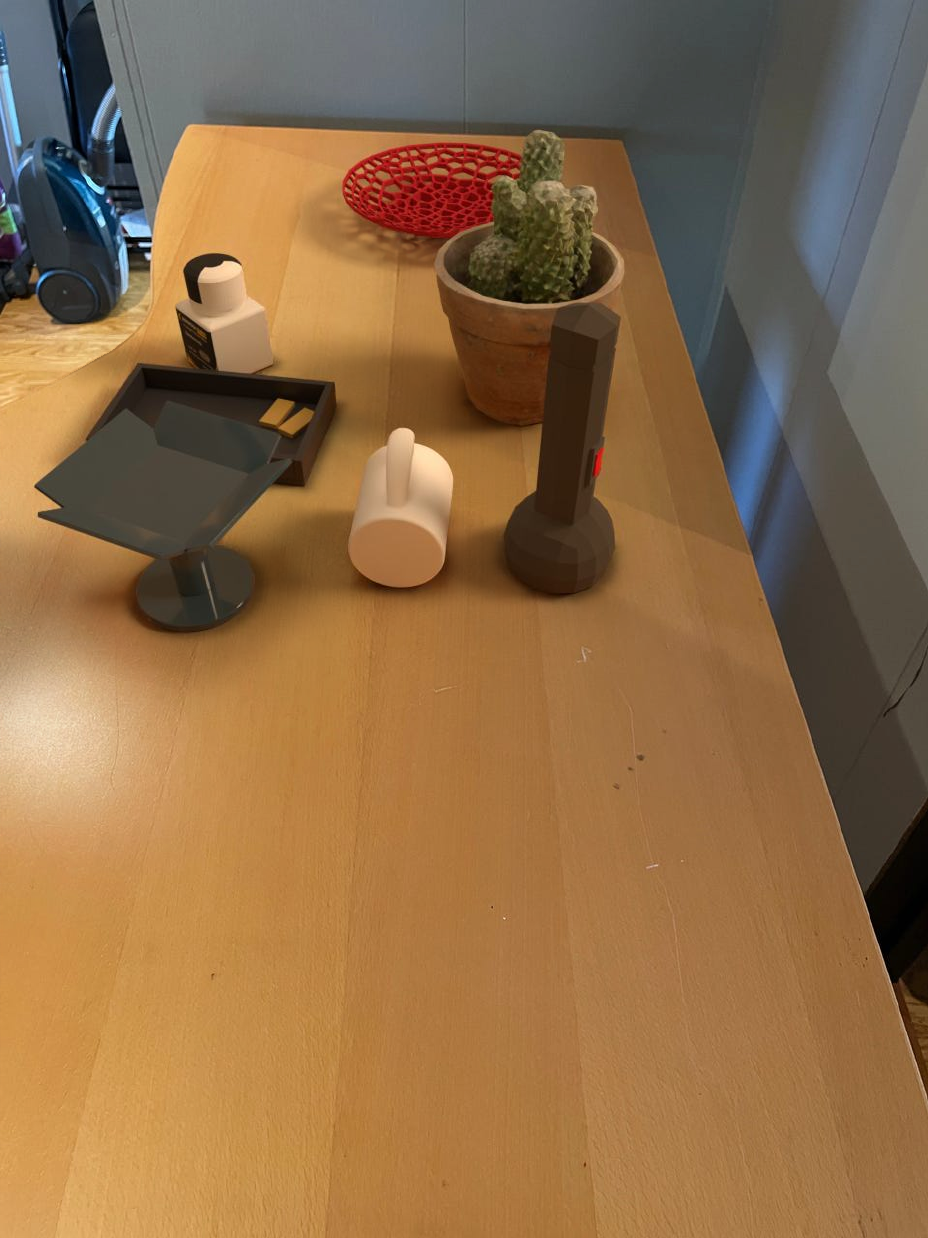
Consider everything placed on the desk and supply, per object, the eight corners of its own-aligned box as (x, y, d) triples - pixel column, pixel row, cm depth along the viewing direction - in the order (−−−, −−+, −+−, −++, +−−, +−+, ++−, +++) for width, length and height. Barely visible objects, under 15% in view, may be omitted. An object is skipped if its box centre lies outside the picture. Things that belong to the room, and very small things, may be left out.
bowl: (490, 292, 118) (492, 254, 114) (301, 235, 127) (297, 198, 124) (589, 206, 135) (593, 170, 131) (416, 162, 145) (415, 127, 141)
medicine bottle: (186, 361, 106) (163, 259, 97) (240, 339, 109) (222, 239, 100) (220, 388, 102) (199, 285, 94) (275, 364, 106) (259, 263, 97)
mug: (351, 585, 82) (340, 478, 74) (366, 509, 89) (358, 402, 80) (444, 591, 82) (444, 484, 73) (453, 514, 89) (454, 408, 80)
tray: (93, 463, 93) (85, 438, 91) (144, 387, 102) (137, 362, 100) (304, 486, 91) (301, 460, 89) (337, 406, 101) (334, 381, 98)
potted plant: (631, 429, 99) (675, 189, 80) (464, 460, 95) (470, 215, 76) (566, 340, 110) (591, 113, 92) (415, 364, 106) (409, 131, 88)
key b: (319, 413, 98) (320, 418, 98) (304, 407, 98) (305, 411, 99) (292, 434, 95) (292, 439, 96) (277, 427, 96) (277, 432, 96)
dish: (222, 685, 75) (190, 568, 65) (61, 622, 79) (8, 503, 69) (323, 558, 85) (308, 440, 75) (175, 509, 89) (143, 391, 79)
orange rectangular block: (294, 401, 99) (295, 406, 99) (277, 397, 99) (278, 402, 100) (276, 424, 96) (276, 429, 97) (258, 420, 97) (259, 425, 97)
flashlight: (482, 569, 84) (581, 612, 81) (493, 314, 66) (622, 356, 62) (535, 508, 90) (629, 546, 86) (558, 258, 71) (679, 294, 68)
